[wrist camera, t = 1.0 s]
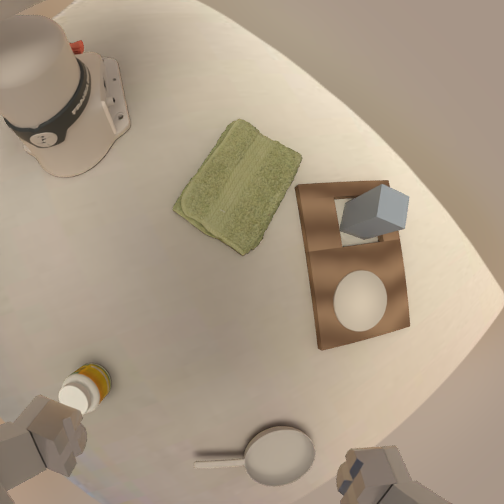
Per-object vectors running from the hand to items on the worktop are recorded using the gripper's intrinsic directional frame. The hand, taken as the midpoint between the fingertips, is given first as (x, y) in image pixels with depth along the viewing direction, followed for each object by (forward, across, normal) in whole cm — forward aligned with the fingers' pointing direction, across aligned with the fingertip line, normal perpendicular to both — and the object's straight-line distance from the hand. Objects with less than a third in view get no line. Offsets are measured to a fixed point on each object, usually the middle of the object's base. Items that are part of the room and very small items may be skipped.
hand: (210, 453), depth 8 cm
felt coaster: (+36, -18, +8) cm, 41 cm away
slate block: (+42, -16, -3) cm, 45 cm away
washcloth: (+41, +2, -6) cm, 41 cm away
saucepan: (+28, -5, +32) cm, 42 cm away
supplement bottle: (+28, +19, +22) cm, 40 cm away
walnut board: (+40, -17, +3) cm, 43 cm away
